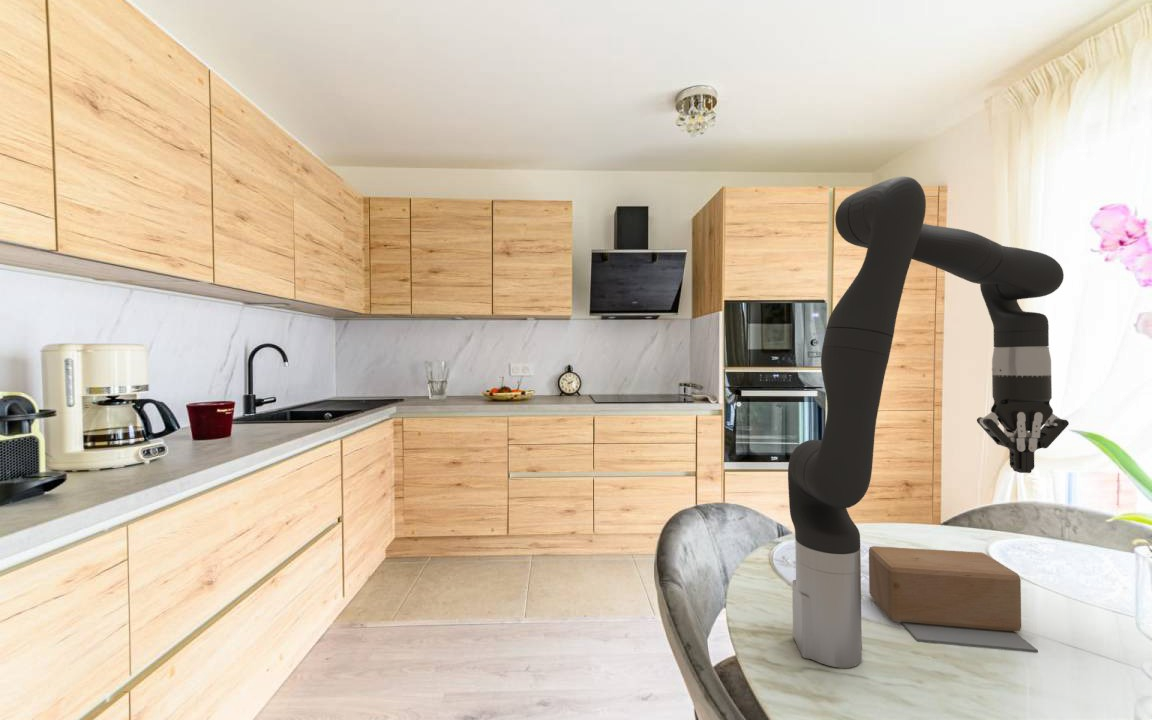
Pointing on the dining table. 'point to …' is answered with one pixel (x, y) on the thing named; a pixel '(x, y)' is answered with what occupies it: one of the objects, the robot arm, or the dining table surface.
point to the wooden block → (945, 588)
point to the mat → (968, 636)
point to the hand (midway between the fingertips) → (1022, 471)
